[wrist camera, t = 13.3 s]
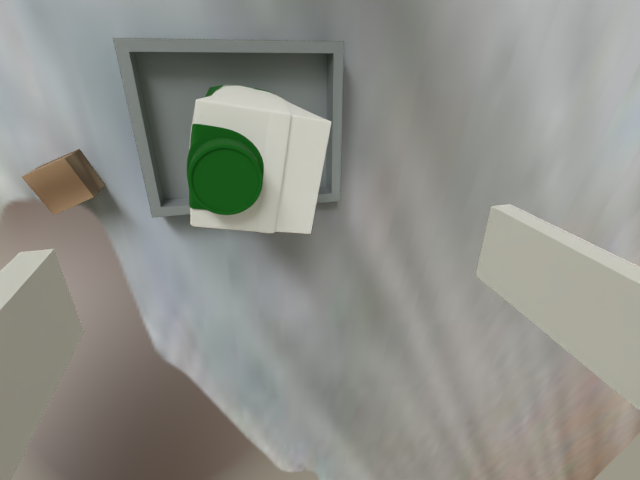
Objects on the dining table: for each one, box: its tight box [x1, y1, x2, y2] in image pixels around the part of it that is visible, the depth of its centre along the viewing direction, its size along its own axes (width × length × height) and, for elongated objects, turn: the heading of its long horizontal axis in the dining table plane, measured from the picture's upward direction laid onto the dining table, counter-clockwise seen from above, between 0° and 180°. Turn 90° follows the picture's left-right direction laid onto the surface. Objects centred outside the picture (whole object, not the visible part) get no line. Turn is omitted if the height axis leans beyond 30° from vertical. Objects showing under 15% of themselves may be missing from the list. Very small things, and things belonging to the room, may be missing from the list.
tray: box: [113, 38, 344, 217], centre depth 37 cm, size 16×20×3 cm
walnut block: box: [22, 149, 105, 215], centre depth 35 cm, size 4×4×4 cm
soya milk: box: [187, 84, 331, 234], centre depth 29 cm, size 9×9×20 cm
